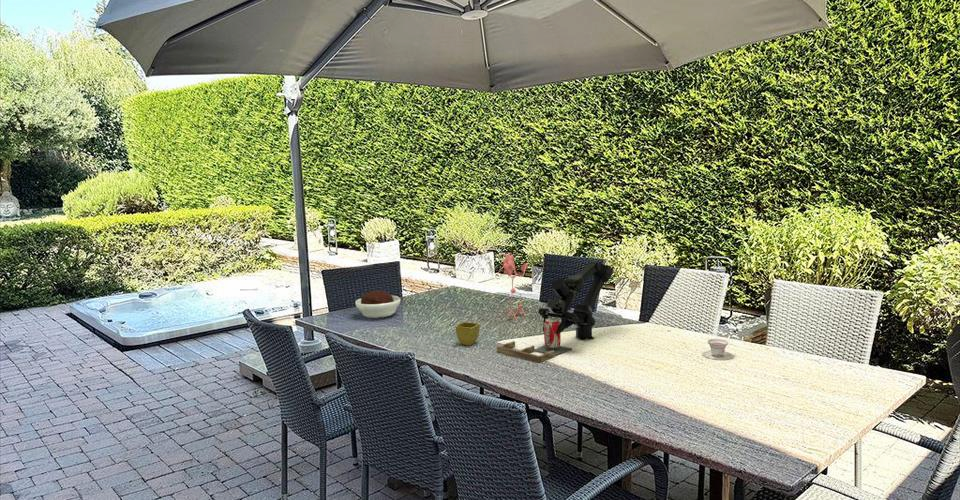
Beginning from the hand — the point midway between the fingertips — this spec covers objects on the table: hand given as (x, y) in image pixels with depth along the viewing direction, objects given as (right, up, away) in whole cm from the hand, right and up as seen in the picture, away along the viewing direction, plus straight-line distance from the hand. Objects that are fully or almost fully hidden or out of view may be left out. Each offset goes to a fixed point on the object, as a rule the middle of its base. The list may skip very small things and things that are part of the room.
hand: (550, 332), depth 255 cm
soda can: (+1, -7, +2) cm, 7 cm away
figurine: (-14, -1, +64) cm, 65 cm away
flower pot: (-36, -8, +17) cm, 40 cm away
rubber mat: (+1, -8, +2) cm, 8 cm away
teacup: (+67, -8, -13) cm, 69 cm away
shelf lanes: (-11, -9, -2) cm, 14 cm away
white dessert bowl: (-87, -2, +77) cm, 117 cm away
